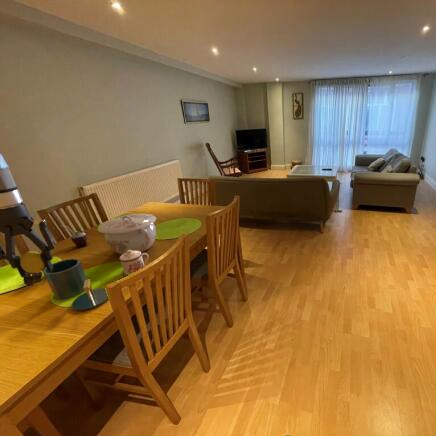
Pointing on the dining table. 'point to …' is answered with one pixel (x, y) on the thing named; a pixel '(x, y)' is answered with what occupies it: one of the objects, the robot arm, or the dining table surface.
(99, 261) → the dining table surface
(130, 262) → the teacup with lid
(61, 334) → the dining table surface
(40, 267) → the lemon
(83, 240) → the mate gourd
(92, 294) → the pot lid
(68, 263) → the blue cylindrical pot
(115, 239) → the chamber pot
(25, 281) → the pottery mug
